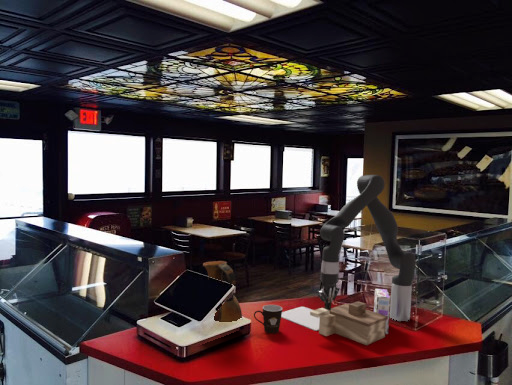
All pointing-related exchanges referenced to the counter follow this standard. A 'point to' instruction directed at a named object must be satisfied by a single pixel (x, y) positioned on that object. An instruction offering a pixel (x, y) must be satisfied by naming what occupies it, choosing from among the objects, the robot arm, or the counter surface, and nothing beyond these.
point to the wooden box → (351, 329)
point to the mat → (302, 317)
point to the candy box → (382, 304)
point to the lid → (358, 314)
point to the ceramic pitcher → (230, 307)
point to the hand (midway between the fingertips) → (327, 310)
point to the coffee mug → (271, 318)
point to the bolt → (319, 312)
